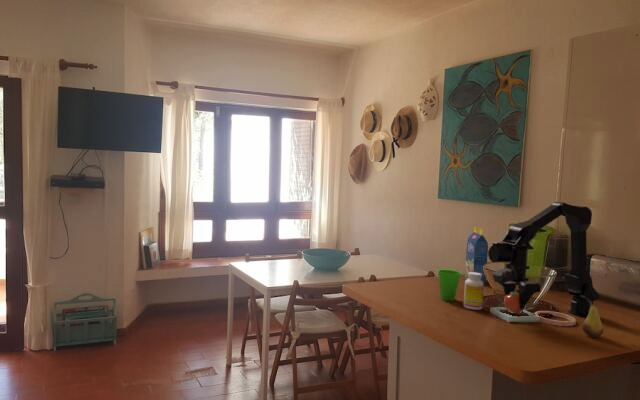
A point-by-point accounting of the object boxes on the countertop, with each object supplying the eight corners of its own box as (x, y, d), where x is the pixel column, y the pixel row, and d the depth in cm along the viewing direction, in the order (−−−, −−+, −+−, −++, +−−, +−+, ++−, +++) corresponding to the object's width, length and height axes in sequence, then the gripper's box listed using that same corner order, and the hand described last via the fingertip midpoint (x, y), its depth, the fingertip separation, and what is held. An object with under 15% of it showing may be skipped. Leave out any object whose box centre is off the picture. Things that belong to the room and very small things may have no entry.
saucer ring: (557, 314, 173) (558, 310, 173) (583, 325, 161) (583, 321, 161) (526, 314, 171) (527, 311, 171) (550, 326, 158) (551, 322, 158)
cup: (432, 295, 192) (434, 268, 191) (454, 296, 193) (456, 269, 192) (440, 302, 183) (442, 273, 182) (463, 302, 184) (465, 274, 183)
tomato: (519, 316, 162) (521, 292, 161) (499, 310, 167) (500, 288, 167) (530, 312, 166) (531, 290, 166) (509, 307, 172) (511, 285, 172)
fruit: (594, 340, 146) (597, 301, 146) (578, 334, 151) (581, 296, 151) (607, 338, 148) (610, 300, 148) (590, 332, 154) (593, 295, 153)
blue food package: (472, 283, 219) (475, 229, 218) (464, 277, 231) (467, 226, 230) (485, 283, 219) (489, 229, 218) (477, 278, 231) (480, 226, 230)
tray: (518, 312, 174) (518, 307, 174) (539, 322, 163) (539, 316, 162) (490, 312, 171) (490, 307, 171) (508, 322, 160) (509, 317, 160)
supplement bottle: (483, 311, 173) (485, 276, 172) (464, 309, 174) (466, 274, 174) (480, 306, 179) (483, 272, 179) (462, 304, 181) (464, 270, 180)
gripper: (482, 256, 173) (479, 299, 174) (513, 267, 155) (510, 314, 156) (510, 257, 176) (507, 299, 177) (543, 267, 157) (540, 314, 158)
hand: (515, 306), depth 167 cm, fingers closed on tomato, 7 cm apart
